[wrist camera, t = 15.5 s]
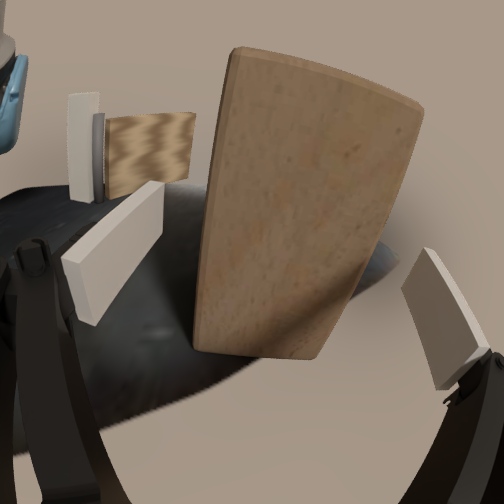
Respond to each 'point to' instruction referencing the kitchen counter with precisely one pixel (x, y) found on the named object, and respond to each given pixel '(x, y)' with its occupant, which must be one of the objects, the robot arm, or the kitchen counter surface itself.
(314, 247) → the wooden block
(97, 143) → the wall stub
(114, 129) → the gate
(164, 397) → the kitchen counter surface
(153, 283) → the kitchen counter surface
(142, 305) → the kitchen counter surface
